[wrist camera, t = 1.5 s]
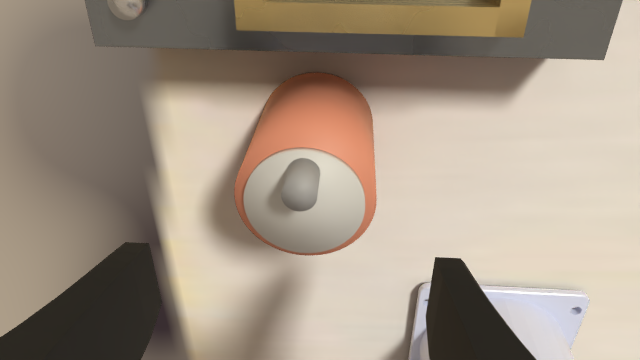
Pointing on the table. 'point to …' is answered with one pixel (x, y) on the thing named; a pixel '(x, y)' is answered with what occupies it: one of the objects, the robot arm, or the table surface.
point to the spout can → (310, 167)
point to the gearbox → (363, 26)
